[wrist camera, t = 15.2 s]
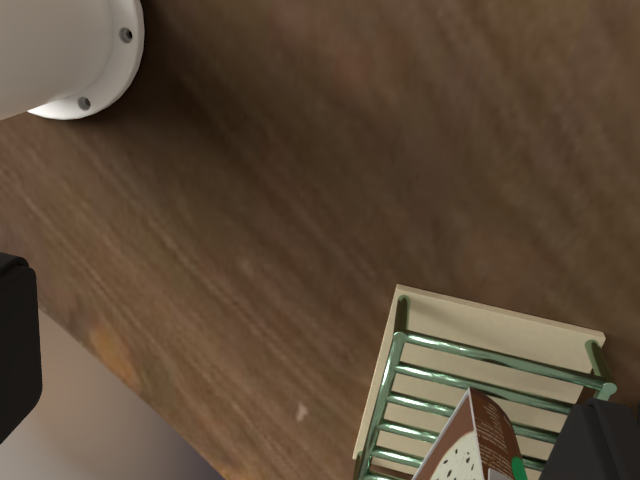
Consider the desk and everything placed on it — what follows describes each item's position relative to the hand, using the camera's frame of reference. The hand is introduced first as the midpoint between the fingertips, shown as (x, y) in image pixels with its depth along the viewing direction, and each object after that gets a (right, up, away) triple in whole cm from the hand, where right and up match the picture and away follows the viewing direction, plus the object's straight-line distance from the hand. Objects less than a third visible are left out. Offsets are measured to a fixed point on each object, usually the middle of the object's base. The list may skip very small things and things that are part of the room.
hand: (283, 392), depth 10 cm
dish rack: (+11, -9, +34) cm, 37 cm away
